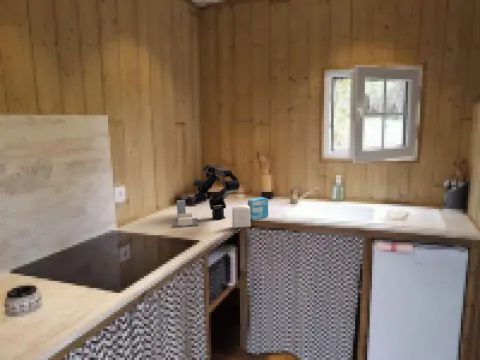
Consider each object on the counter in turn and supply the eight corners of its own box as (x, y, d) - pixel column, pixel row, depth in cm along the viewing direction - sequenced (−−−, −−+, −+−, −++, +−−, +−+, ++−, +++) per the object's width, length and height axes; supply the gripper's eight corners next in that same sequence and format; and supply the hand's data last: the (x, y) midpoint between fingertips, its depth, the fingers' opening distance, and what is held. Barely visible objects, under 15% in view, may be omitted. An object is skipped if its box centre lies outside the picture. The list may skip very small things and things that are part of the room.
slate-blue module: (185, 216, 241) (184, 199, 239) (185, 218, 237) (184, 201, 235) (177, 217, 240) (176, 200, 239) (177, 219, 236) (176, 201, 234)
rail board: (197, 219, 234) (196, 212, 233) (197, 226, 219) (197, 218, 219) (174, 220, 232) (173, 213, 231) (173, 227, 217) (172, 220, 217)
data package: (252, 220, 227) (251, 200, 225) (248, 219, 231) (247, 199, 229) (268, 217, 233) (268, 197, 231) (264, 215, 237) (263, 196, 235)
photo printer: (249, 224, 218) (249, 203, 215) (251, 227, 213) (250, 205, 211) (231, 226, 216) (231, 205, 213) (233, 228, 212) (232, 206, 209)
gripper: (200, 169, 244) (185, 187, 247) (198, 179, 226) (182, 198, 230) (213, 179, 246) (198, 197, 250) (213, 190, 229) (197, 209, 233)
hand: (194, 200), depth 241 cm, fingers open, 9 cm apart
